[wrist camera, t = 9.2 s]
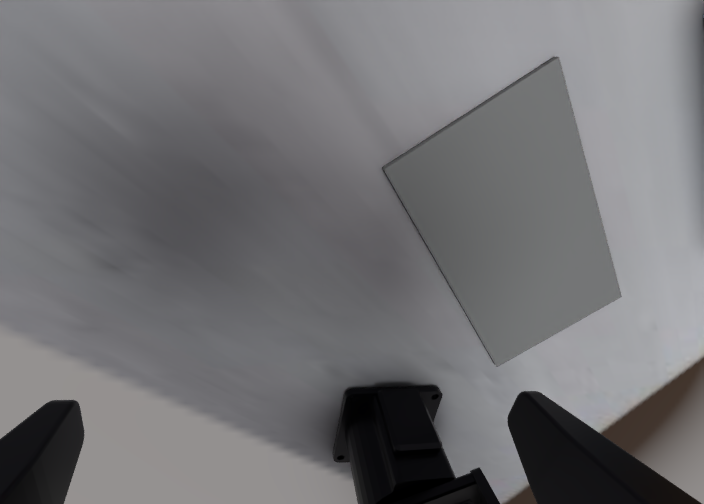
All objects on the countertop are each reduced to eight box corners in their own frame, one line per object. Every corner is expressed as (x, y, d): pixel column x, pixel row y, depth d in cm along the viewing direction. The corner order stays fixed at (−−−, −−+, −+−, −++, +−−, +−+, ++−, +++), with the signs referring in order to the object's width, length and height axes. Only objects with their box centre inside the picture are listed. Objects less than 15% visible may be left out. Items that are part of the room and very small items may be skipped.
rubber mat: (618, 294, 25) (621, 296, 25) (494, 363, 26) (496, 367, 26) (554, 56, 18) (558, 57, 17) (382, 167, 19) (383, 169, 18)
